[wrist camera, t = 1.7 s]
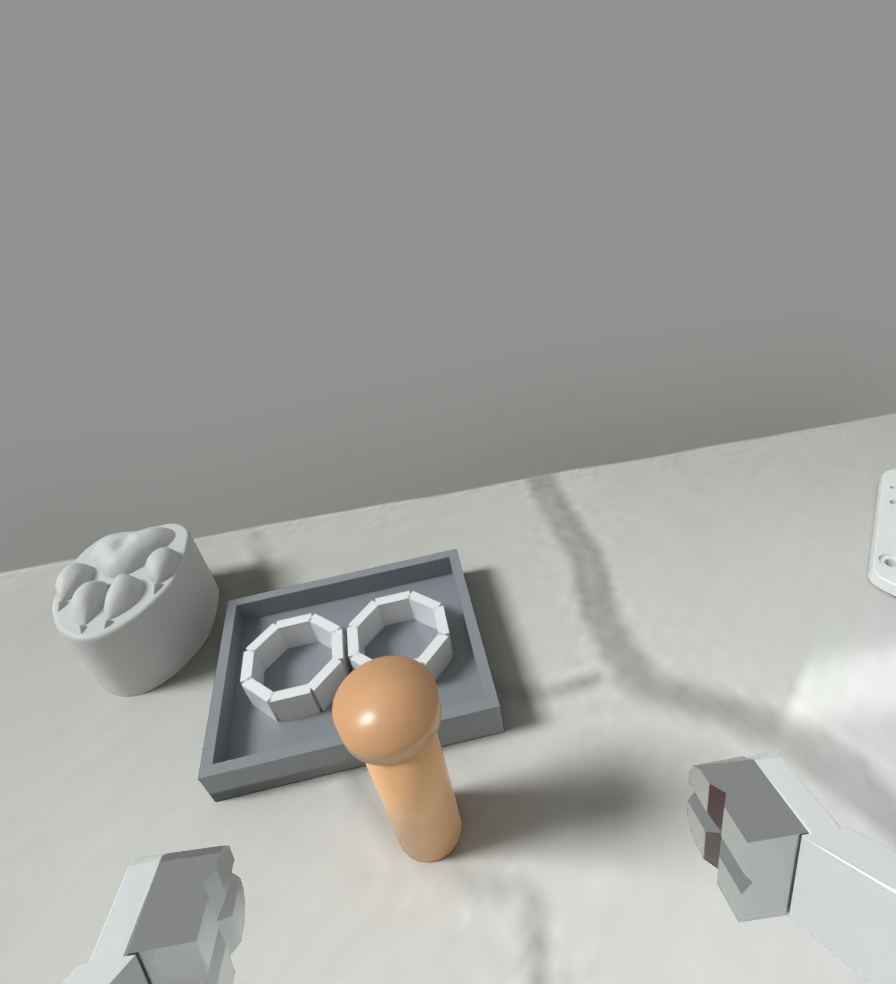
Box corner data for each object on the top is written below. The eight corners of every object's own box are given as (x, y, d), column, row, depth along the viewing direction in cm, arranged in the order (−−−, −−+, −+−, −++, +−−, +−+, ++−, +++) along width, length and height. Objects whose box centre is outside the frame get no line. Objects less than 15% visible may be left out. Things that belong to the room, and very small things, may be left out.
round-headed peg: (407, 776, 41) (361, 647, 33) (482, 798, 39) (452, 666, 31) (374, 857, 37) (312, 733, 29) (454, 885, 35) (412, 762, 27)
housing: (504, 731, 42) (499, 701, 40) (215, 801, 41) (194, 774, 39) (461, 573, 55) (455, 544, 53) (240, 623, 54) (225, 596, 52)
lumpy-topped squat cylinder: (227, 573, 60) (192, 504, 55) (197, 684, 49) (151, 612, 44) (122, 592, 60) (77, 525, 55) (70, 708, 49) (9, 638, 44)
